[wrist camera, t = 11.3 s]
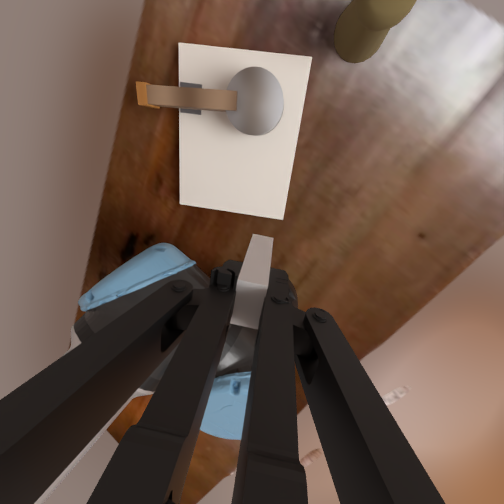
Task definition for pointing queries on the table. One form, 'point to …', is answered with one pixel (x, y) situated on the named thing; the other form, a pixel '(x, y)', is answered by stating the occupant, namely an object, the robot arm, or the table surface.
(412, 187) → the table surface
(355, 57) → the olive pawn
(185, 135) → the base plate
